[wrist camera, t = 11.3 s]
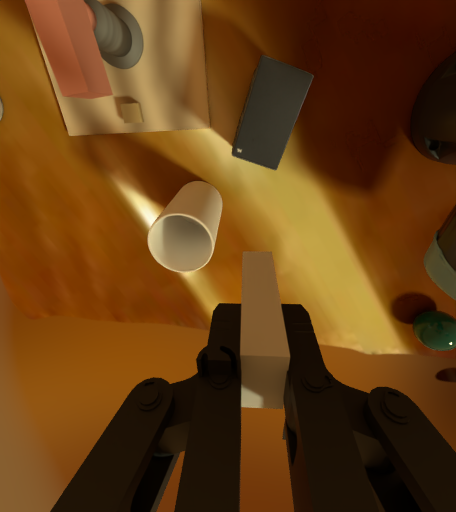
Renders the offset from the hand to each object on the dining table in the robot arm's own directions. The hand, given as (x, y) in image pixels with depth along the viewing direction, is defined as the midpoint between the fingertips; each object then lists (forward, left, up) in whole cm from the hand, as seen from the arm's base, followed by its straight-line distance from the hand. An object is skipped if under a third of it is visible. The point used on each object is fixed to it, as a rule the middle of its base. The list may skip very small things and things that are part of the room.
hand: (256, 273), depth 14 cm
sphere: (-38, +33, -32) cm, 60 cm away
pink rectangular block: (+16, -17, -22) cm, 32 cm away
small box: (-2, -7, -32) cm, 33 cm away
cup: (+9, +6, -32) cm, 34 cm away
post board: (+17, -17, -32) cm, 39 cm away
